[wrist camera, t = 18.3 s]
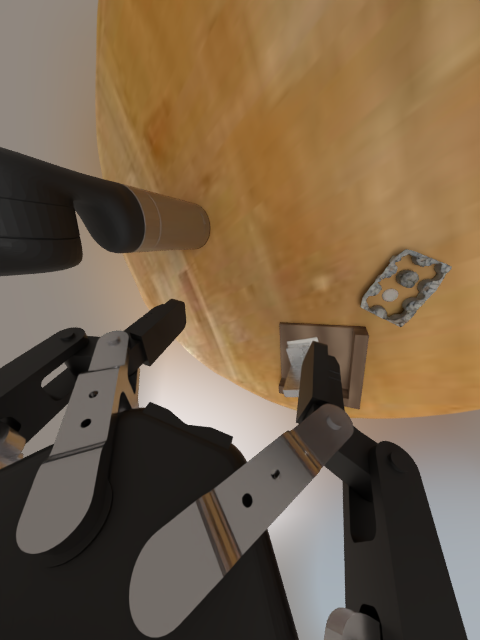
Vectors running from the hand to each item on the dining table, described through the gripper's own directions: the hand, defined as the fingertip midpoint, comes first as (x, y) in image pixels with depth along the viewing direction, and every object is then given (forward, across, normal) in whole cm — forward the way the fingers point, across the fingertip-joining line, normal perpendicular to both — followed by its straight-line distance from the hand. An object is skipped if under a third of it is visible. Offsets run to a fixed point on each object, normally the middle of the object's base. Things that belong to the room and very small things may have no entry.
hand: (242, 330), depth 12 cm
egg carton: (+28, -19, +5) cm, 34 cm away
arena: (+24, -12, +23) cm, 36 cm away
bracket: (+24, -9, +23) cm, 34 cm away
